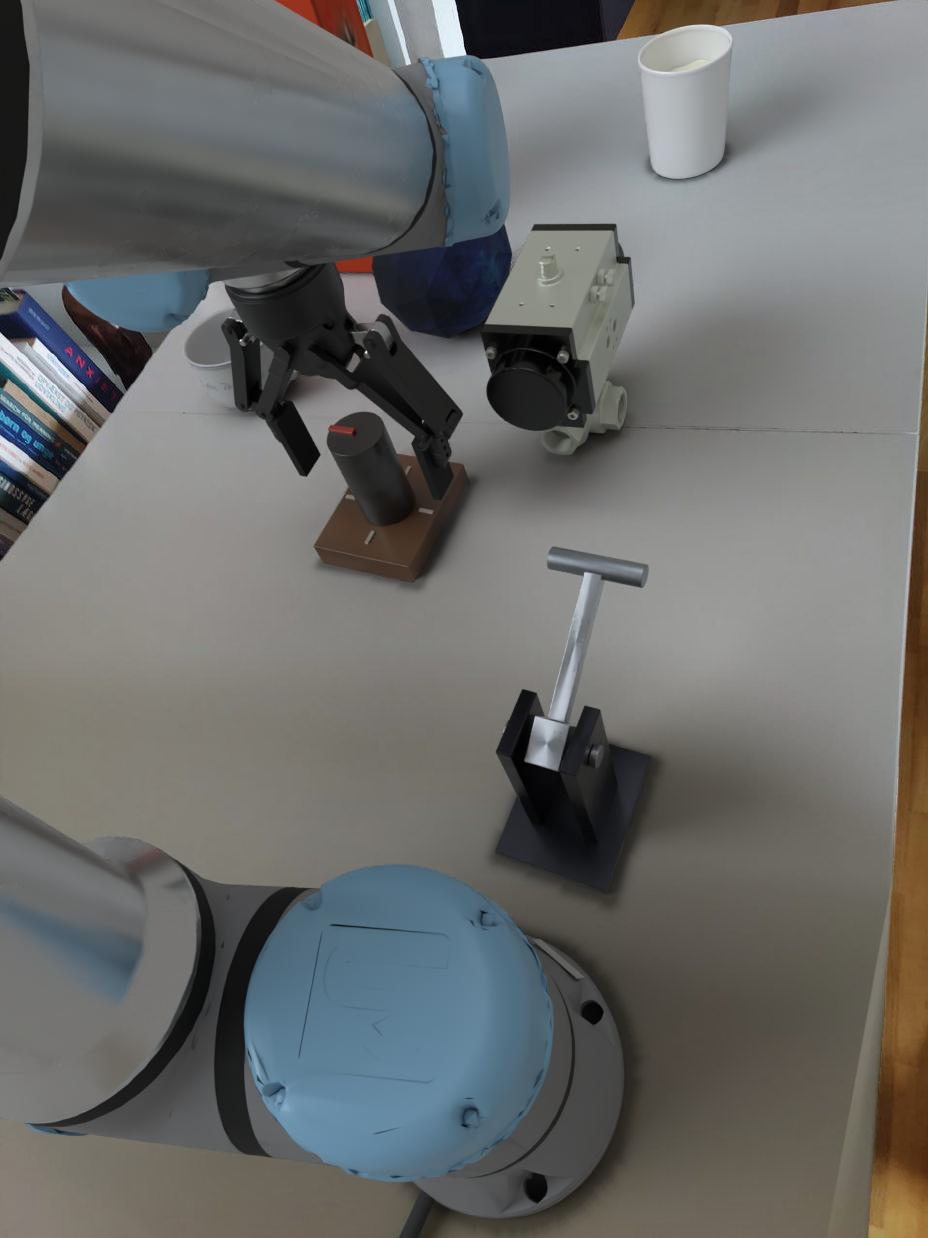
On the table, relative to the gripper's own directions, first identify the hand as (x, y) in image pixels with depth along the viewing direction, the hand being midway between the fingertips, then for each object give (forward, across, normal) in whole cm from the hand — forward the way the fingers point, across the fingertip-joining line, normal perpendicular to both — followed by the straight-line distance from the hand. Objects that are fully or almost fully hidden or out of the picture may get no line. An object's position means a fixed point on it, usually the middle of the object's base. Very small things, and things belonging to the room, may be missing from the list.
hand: (374, 476), depth 74 cm
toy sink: (+6, +36, -64) cm, 74 cm away
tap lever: (-6, -25, +16) cm, 30 cm away
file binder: (+6, +25, -38) cm, 46 cm away
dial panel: (+6, 0, 0) cm, 6 cm away
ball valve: (+7, -13, -15) cm, 21 cm away
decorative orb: (+7, +6, -28) cm, 29 cm away
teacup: (+7, +23, -14) cm, 28 cm away
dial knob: (+4, 0, 0) cm, 4 cm away
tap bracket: (+7, -25, +21) cm, 33 cm away
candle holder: (+6, -11, -58) cm, 59 cm away
